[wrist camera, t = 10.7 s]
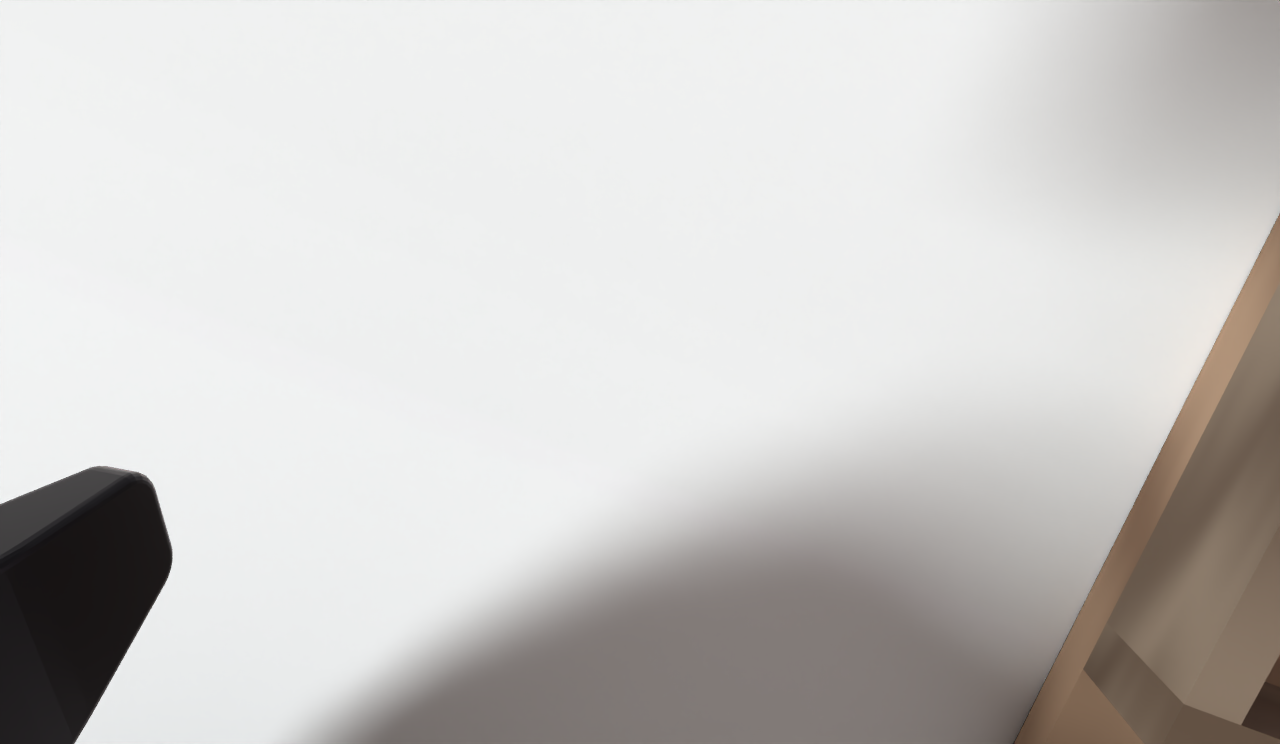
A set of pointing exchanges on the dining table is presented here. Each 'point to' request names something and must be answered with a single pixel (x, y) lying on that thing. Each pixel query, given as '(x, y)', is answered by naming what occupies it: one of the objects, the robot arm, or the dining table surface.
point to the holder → (1191, 567)
